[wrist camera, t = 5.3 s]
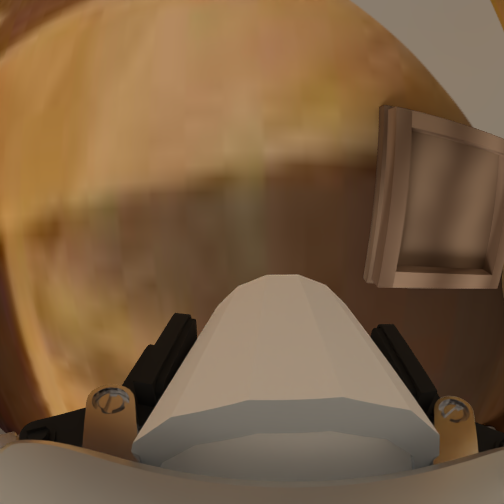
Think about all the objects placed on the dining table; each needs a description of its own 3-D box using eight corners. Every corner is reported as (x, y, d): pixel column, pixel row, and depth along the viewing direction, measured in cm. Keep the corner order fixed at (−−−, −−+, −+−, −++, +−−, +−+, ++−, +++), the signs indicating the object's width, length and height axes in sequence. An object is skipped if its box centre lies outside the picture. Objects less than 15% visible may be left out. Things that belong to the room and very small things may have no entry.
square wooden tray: (503, 141, 18) (520, 142, 16) (483, 281, 22) (498, 291, 20) (379, 106, 19) (392, 101, 16) (363, 278, 23) (373, 291, 20)
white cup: (202, 240, 10) (102, 357, 4) (391, 273, 10) (502, 396, 4) (188, 390, 12) (141, 524, 6) (338, 411, 12) (363, 542, 6)
